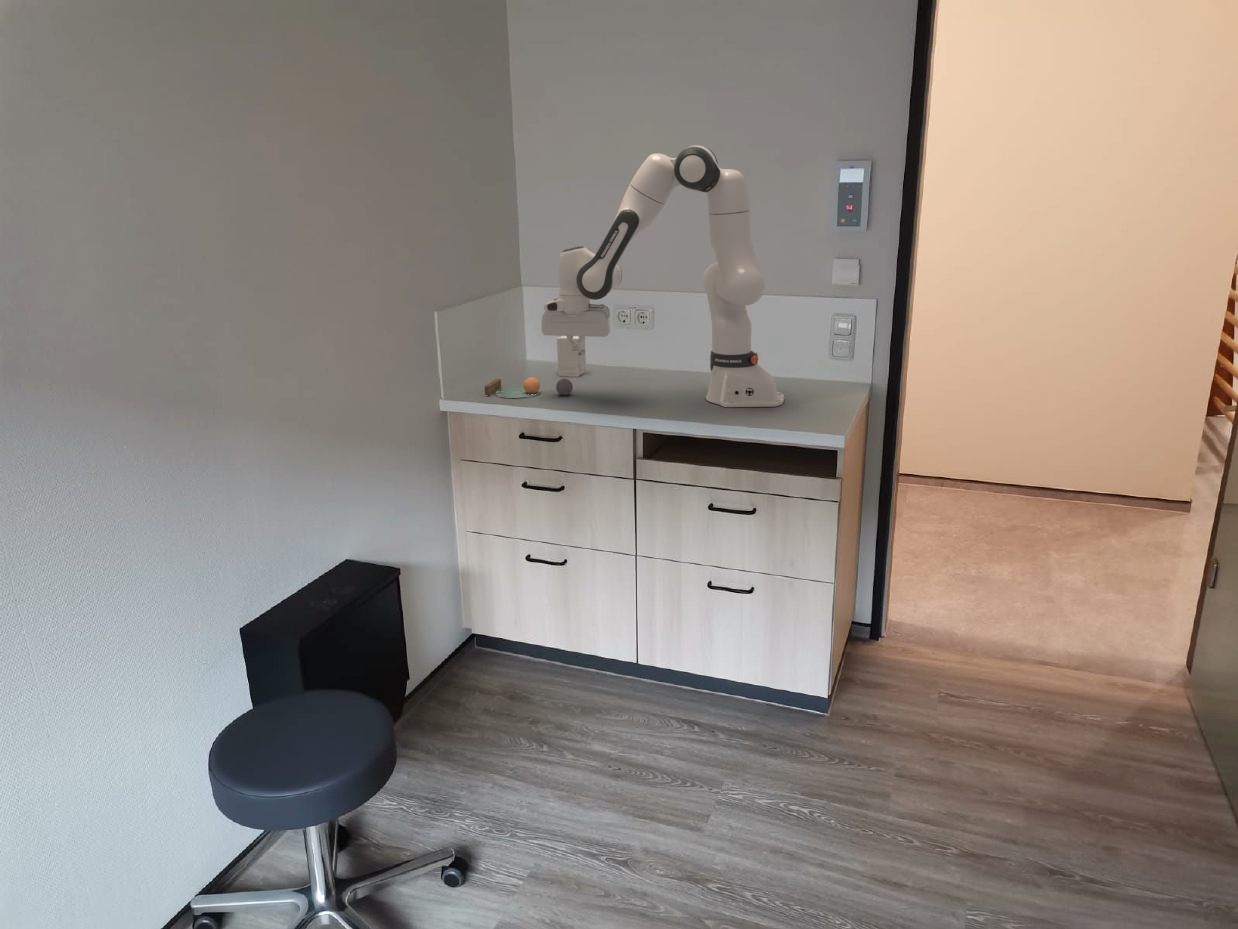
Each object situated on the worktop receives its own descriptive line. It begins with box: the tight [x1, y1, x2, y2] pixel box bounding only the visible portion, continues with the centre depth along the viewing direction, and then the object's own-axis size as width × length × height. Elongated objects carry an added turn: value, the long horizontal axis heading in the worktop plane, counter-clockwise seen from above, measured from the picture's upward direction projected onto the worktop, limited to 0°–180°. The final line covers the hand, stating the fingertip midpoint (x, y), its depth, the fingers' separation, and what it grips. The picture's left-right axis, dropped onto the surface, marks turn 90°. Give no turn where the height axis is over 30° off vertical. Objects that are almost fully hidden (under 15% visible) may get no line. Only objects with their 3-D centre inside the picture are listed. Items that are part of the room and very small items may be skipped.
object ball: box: [522, 376, 541, 394], centre depth 277 cm, size 5×5×5 cm
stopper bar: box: [484, 378, 502, 397], centre depth 280 cm, size 2×10×3 cm, turn 167°
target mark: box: [494, 386, 542, 399], centre depth 279 cm, size 14×14×1 cm
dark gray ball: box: [555, 378, 574, 396], centre depth 275 cm, size 5×5×5 cm
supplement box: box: [556, 336, 587, 378], centre depth 300 cm, size 7×7×13 cm
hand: (576, 350), depth 270 cm, fingers closed
